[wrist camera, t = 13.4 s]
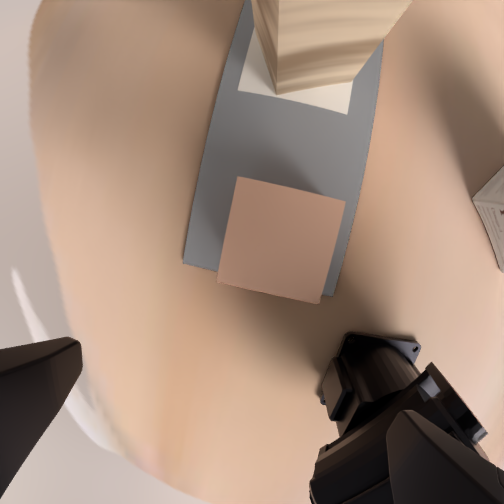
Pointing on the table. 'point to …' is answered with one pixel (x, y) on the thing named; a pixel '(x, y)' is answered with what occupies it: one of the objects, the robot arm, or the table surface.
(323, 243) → the terracotta block
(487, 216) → the supplement box
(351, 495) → the robot arm
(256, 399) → the table surface
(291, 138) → the mat
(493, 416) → the table surface
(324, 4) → the beech post
